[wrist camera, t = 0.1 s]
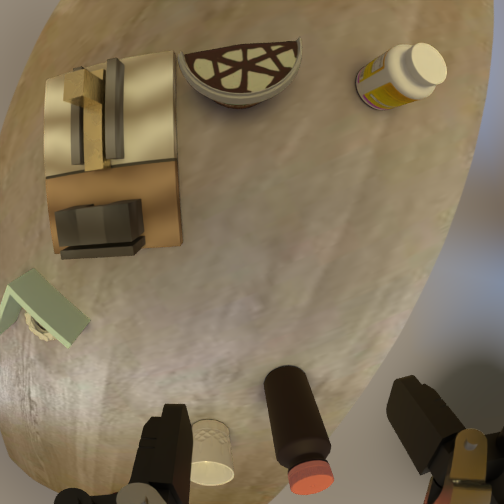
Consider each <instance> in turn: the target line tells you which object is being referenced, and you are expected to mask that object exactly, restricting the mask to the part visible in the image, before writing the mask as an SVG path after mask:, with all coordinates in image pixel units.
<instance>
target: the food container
mask: <svg viewBox="0 0 504 504" xmlns="http://www.w3.org/2000/svg"><path fill="white" fill-rule="evenodd" d="M301 59H302V40H301V39H300V37H299V38H298V39H297V40H296V41H287V42H275V43H253V44H239V45H233V46H228V47H223V48H218V49H212V50H206V51H201V52H195V53H190V54H185V55H184V54H183V53H182V51H180V53H179V54H178V63H179V67H180V69H181V71H182V74H183V75H184V77H185V78H186V80H187V81H188V83H189V84H190V85H191V86H192V87H193V88H194V89H196V90H197V91H198V92H200V93H201V94H203V95H204V96H206V97H208V98H210V99H212V100H214V101H215V102H216V103H218V104H220V105H223V106H225V107H228V108H235V109H243V108H248V107H251V106H254V105H256V104H258V103H260V102H261V101H264V100H267V99H269V98H271V97H273V96H275V95H277V94H279V93H280V92H281V91H283V90H284V89H285V88H286V87H287V86H288V85H289V84H290V83H291V82H292V80H293V79H294V78H295V76H296V74H297V72H298V70H299V68H300V64H301Z"/></svg>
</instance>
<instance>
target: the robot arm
mask: <svg viewBox="0 0 504 504" xmlns="http://www.w3.org/2000/svg"><path fill="white" fill-rule="evenodd" d="M386 412H387V417H388V420H389V422H390V423H391V425H392V427H393V428H394V430H395V432H396V434H397V435H398V437H399V439H400V440H401V442H402V444H403V446H404V447H405V449H406V451H407V453H408V454H409V456H410V458H411V460H412V461H413V463H414V465H415V467H416V469H417V471H418V472H419V474H420V475H423V474H425V473H428V472H431V474H432V477H431V478H430V482H429V485H428V489H427V493H426V497H425V500H424V503H423V504H504V427H503V429H502V430H501V432H498V433H493V434H487V435H484V434H483V433H482V432H481V431H479V430H476V429H466V428H465V427H464V426H463V424H462V423H461V422H460V420H459V419H458V418H457V417H456V415H455V414H454V413H453V412H452V411H451V409H450V408H449V407H448V406H446V403H445V402H444V401H443V400H441V397H440V396H439V394H438V393H437V392H436V391H435V390H434V389H433V388H431V387H429V386H428V385H426V384H423V385H422V384H421V383H420V382H419V381H418V379H417V378H416V377H415V376H414V375H410V376H406V377H402V378H399V379H396V380H395V381H394V383H393V386H392V390H391V393H390V397H389V400H388V404H387V408H386ZM192 453H193V432H192V427H191V424H190V420H189V416H188V412H187V408H186V405H185V404H165V405H164V407H163V412H162V416H161V417H151V418H150V419H149V421H148V422H147V423H146V424H145V425H144V427H143V431H142V435H141V439H140V442H139V448H138V450H137V454H136V458H135V462H134V466H133V470H132V475H131V479H130V481H129V483H128V485H126V486H124V487H123V488H122V489H121V490H120V491H119V492H117V493H115V494H110V495H100V496H89V495H88V494H87V493H86V492H85V491H83V490H81V489H78V488H68V489H65V490H63V491H61V492H60V493H59V494H58V495H57V496H56V498H55V501H54V504H189V492H190V478H191V465H192Z"/></svg>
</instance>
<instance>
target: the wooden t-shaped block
mask: <svg viewBox="0 0 504 504" xmlns="http://www.w3.org/2000/svg"><path fill="white" fill-rule="evenodd" d="M105 90H106V70H104V69H100V70H96V71H92V72H89V71H88V70H86V69H81V70H78V71H74V72H71V73H67V74H65V78H64V93H63V101H65V102H68V103H71V104H73V105H76V106H79V107H82V108H84V164H85V171H96V170H103V169H110V168H111V162H110V159H106V148H105Z"/></svg>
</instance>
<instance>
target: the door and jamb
mask: <svg viewBox="0 0 504 504" xmlns="http://www.w3.org/2000/svg"><path fill="white" fill-rule="evenodd" d="M81 69H86V70H88V71H89V72H92V71H96V70H100V69H104V70H106V90H105V148H106V159H110V162H111V168H110V169H103V170H96V171H85V164H84V108H82V107H79V106H76V105H73V104H71V103H68V102H65V101H63V93H64V78H65V74H67V73H65V74H62V75H59V76H56V77H53V78H50V79H47V80H46V91H45V108H44V162H45V177H46V192H47V203H48V212H49V220H50V227H51V234H52V241H53V247H54V252H55V254H61V259H62V260H63V259H80V258H97V257H115V256H133V255H135V254H136V253H137V252H138V251H139V250H140V249H141V248H155V247H172V246H181V244H182V243H183V237H182V225H181V212H180V198H179V182H178V163H177V139H176V55H175V53H174V51H173V50H172V51H165V52H158V53H151V54H145V55H139V56H134V57H128V58H123V59H118V58H113V59H108V60H107V62H105V63H101V64H97V65H93V66H89V67H86V68H83V67H82V66H81V67H78V68H74V69H73V71H71V72H74V71H78V70H81ZM71 72H68V73H71Z"/></svg>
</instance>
